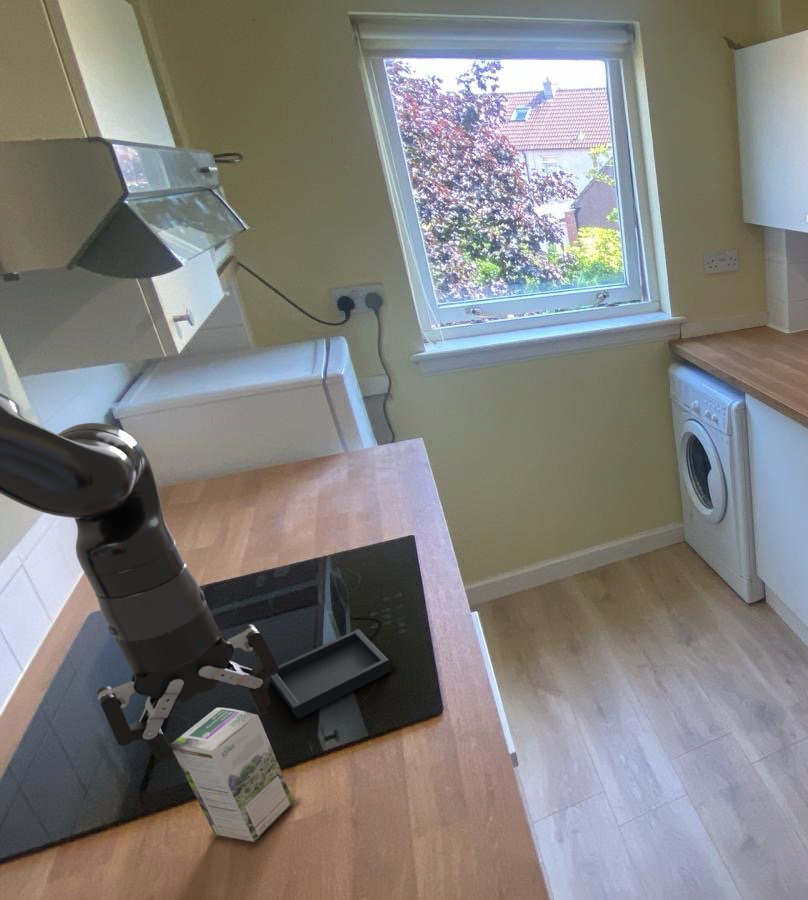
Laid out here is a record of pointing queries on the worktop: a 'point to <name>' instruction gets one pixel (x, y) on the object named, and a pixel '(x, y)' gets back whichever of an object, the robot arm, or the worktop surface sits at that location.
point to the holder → (329, 673)
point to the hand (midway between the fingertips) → (217, 733)
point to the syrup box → (233, 773)
